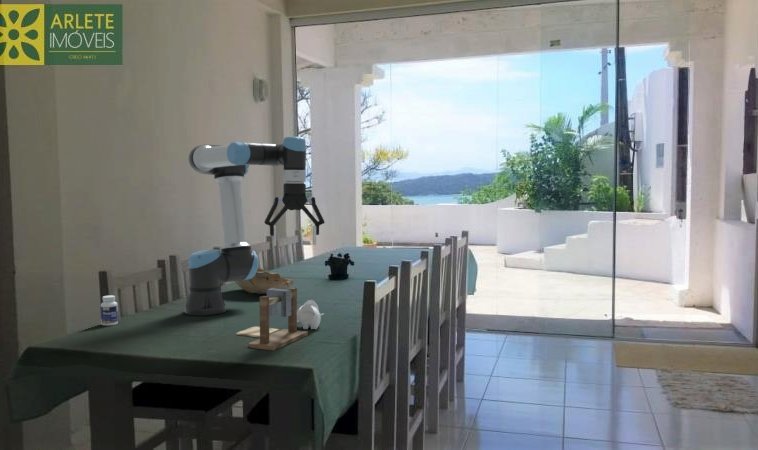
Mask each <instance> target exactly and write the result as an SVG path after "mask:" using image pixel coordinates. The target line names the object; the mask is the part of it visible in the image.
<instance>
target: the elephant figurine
mask: <svg viewBox="0 0 758 450" xmlns="http://www.w3.org/2000/svg"><path fill="white" fill-rule="evenodd" d="M319 309H320V308H319V305H318V304H317V303H316V301H314V299H309V300H307V301H305V302H304V304H303V305H301V306H300V307H299V308H297V327H298V326H299V324H300V323H301V325H302V329H303V330H308V329H309V327H310V330H312V329H315V330H317V329H318V327H319V326H320V323H321V319H322V317H321V316H323V315H325V313H320V311H319Z"/></svg>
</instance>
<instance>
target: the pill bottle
mask: <svg viewBox="0 0 758 450" xmlns="http://www.w3.org/2000/svg"><path fill="white" fill-rule="evenodd" d="M115 300H116V295H111V294H110V295H104V296H102V302H101V303H100V325H101V326H115V325H117V324H118V323H119V318H118V317H119V314H118V310H119V308H118V306H119V305H118V302H117V301H115Z"/></svg>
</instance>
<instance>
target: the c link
mask: <svg viewBox="0 0 758 450" xmlns="http://www.w3.org/2000/svg"><path fill="white" fill-rule="evenodd" d="M266 296H269V298H272V297H281V302H280V317H283V318H288V316H290V315H291V290H288V289H276V288H271V289H267V294H266ZM277 314H278V303H275V304H272V305H269V316H276V315H277Z"/></svg>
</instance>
